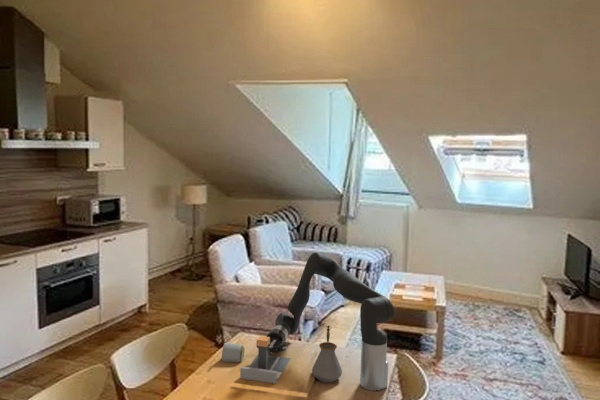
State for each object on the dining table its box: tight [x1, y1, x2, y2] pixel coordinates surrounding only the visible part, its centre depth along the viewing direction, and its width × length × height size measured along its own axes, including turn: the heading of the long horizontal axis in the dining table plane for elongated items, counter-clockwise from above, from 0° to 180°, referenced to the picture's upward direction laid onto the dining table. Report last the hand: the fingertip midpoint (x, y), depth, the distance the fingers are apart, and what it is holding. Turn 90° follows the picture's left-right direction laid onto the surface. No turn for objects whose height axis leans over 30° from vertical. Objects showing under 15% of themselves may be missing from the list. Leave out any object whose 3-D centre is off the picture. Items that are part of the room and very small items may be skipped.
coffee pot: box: [311, 324, 343, 383], centre depth 193 cm, size 21×12×15 cm, turn 176°
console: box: [239, 354, 291, 385], centre depth 194 cm, size 22×14×5 cm, turn 167°
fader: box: [256, 335, 270, 370], centre depth 189 cm, size 4×4×13 cm
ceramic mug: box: [221, 342, 245, 363], centre depth 202 cm, size 11×8×8 cm
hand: (264, 354), depth 190 cm, fingers closed
